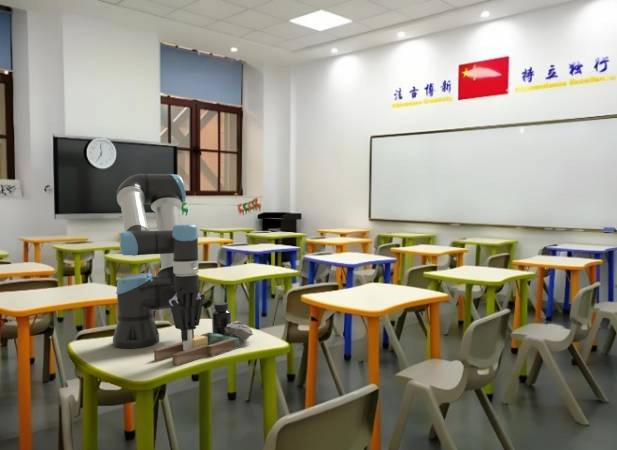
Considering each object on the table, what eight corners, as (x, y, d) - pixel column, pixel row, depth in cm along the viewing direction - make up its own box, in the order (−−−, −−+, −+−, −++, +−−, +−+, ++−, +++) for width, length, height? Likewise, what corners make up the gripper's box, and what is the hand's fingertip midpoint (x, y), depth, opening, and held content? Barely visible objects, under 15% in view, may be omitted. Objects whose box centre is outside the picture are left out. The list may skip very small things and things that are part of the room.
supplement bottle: (219, 334, 182) (218, 301, 182) (235, 335, 180) (234, 302, 179) (208, 338, 176) (207, 304, 176) (225, 340, 173) (224, 305, 173)
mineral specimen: (239, 354, 174) (228, 354, 165) (225, 337, 177) (213, 336, 168) (259, 334, 174) (249, 333, 165) (244, 317, 177) (233, 315, 168)
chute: (150, 358, 154) (150, 349, 153) (209, 341, 173) (209, 332, 173) (181, 366, 145) (180, 356, 145) (239, 347, 165) (239, 338, 165)
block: (184, 353, 158) (184, 337, 158) (197, 350, 162) (197, 334, 162) (195, 356, 155) (195, 340, 155) (207, 352, 159) (207, 336, 159)
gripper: (176, 277, 148) (178, 357, 149) (210, 272, 158) (212, 347, 159) (161, 276, 153) (162, 353, 153) (194, 271, 163) (196, 343, 164)
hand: (187, 350), depth 156 cm, fingers closed
